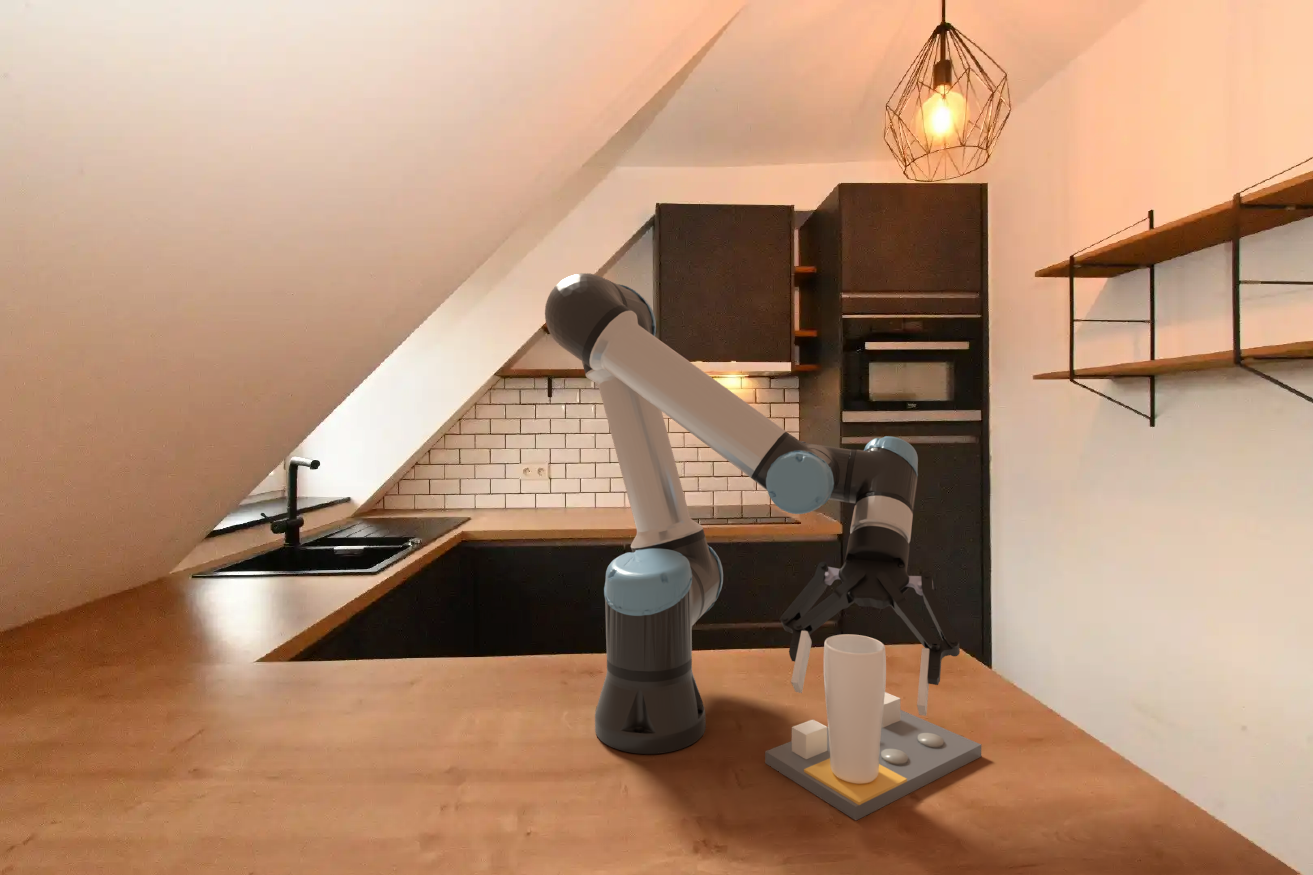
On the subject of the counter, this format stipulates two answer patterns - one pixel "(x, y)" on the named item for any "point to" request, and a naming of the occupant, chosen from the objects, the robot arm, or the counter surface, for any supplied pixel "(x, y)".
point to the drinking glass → (854, 705)
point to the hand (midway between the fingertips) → (856, 698)
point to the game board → (904, 760)
